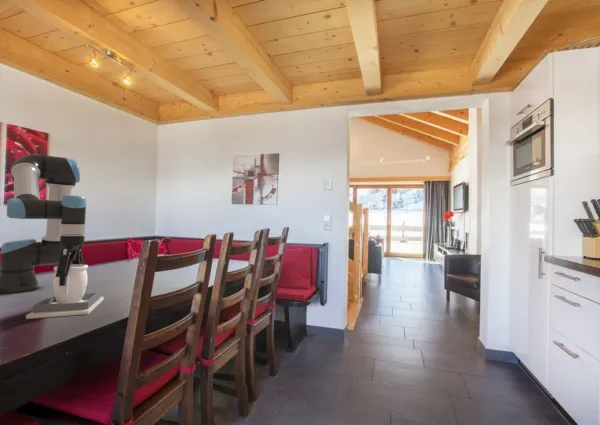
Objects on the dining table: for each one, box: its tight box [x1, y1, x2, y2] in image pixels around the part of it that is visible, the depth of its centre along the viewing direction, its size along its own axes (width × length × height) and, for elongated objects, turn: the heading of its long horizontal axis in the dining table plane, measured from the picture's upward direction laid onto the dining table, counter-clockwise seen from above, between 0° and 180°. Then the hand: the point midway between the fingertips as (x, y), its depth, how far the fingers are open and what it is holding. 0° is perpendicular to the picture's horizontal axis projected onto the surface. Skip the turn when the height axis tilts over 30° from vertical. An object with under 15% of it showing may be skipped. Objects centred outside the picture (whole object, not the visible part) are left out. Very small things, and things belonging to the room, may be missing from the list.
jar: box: [52, 263, 89, 304], centre depth 113 cm, size 11×10×15 cm
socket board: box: [25, 292, 105, 320], centre depth 112 cm, size 20×18×4 cm
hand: (70, 290), depth 112 cm, fingers open, 13 cm apart
